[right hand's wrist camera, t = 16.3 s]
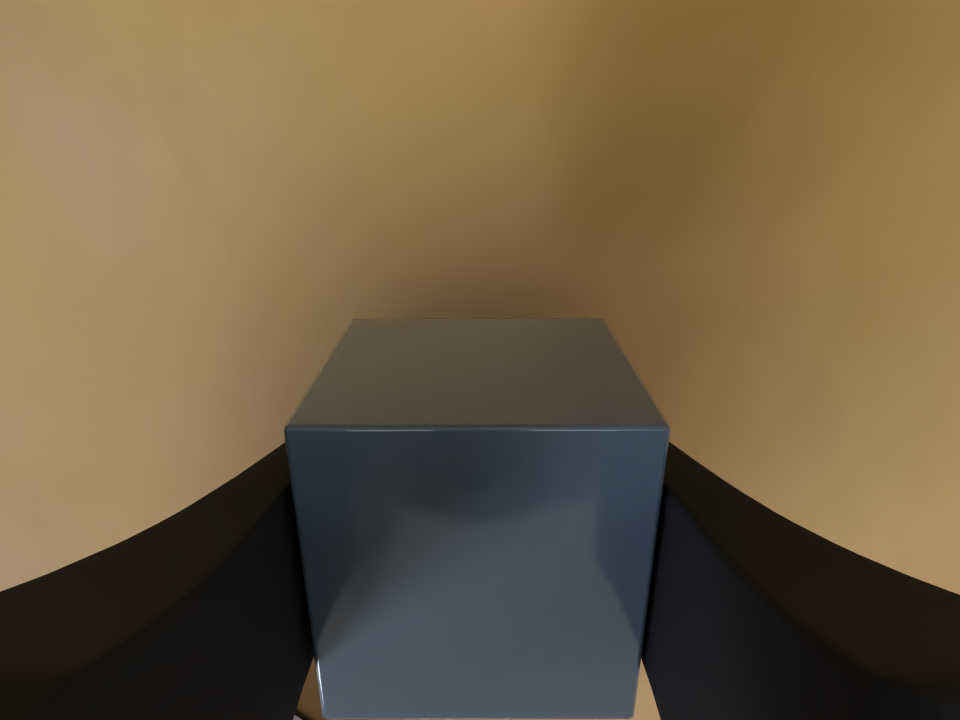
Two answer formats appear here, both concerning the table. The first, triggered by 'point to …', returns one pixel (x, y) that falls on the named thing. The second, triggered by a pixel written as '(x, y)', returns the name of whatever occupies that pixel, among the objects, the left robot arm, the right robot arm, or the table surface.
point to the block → (477, 519)
